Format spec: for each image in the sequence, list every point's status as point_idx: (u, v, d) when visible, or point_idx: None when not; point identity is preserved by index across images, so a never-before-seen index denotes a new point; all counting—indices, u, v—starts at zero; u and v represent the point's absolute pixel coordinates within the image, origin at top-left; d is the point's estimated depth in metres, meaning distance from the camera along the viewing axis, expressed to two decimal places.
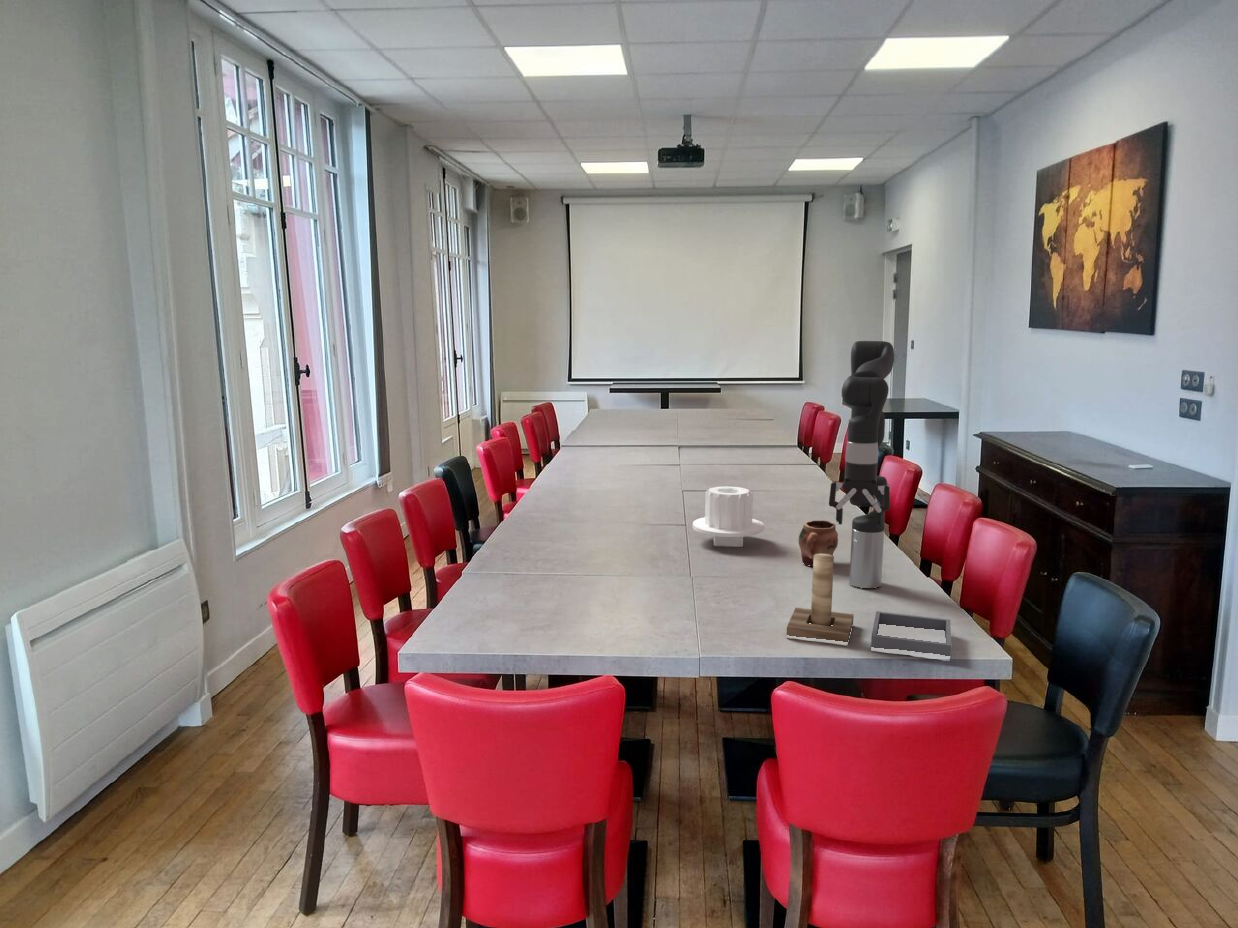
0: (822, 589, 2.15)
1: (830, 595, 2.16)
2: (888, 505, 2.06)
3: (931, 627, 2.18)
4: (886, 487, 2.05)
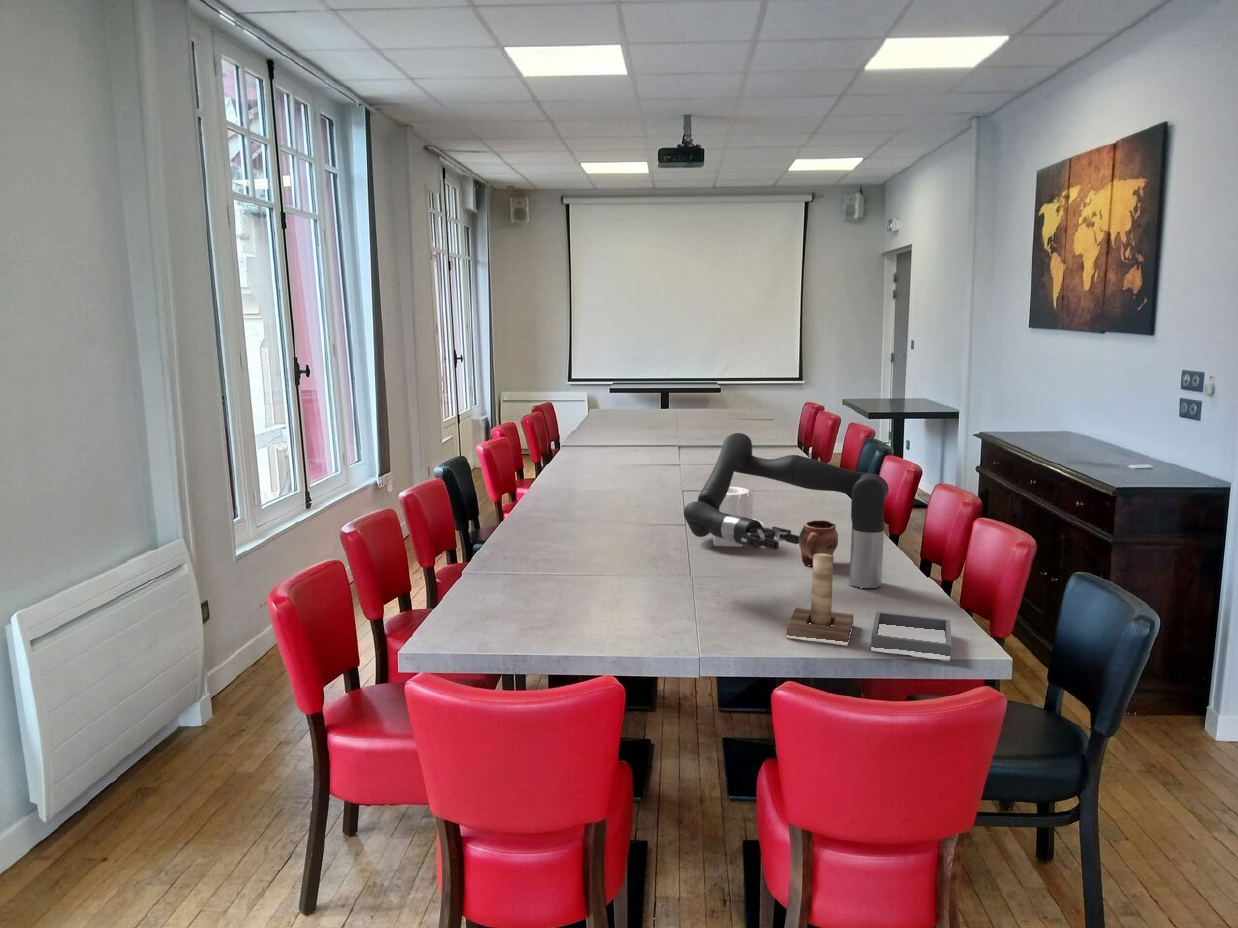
0: (822, 589, 2.15)
1: (830, 595, 2.16)
2: None
3: (931, 627, 2.18)
4: (773, 527, 2.36)
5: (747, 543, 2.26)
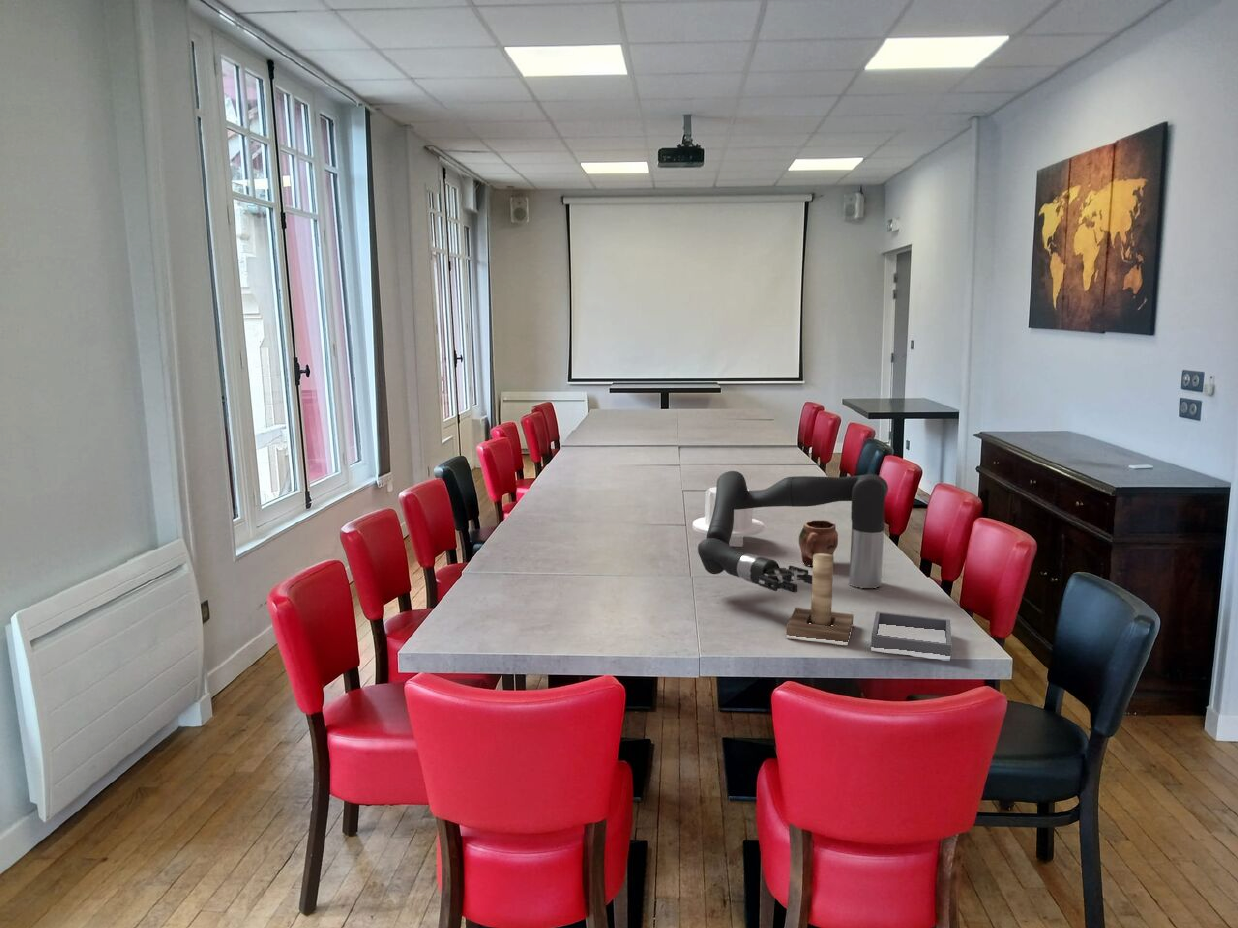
0: (822, 589, 2.15)
1: (830, 595, 2.16)
2: (804, 569, 2.30)
3: (931, 627, 2.18)
4: (790, 566, 2.33)
5: (765, 585, 2.23)
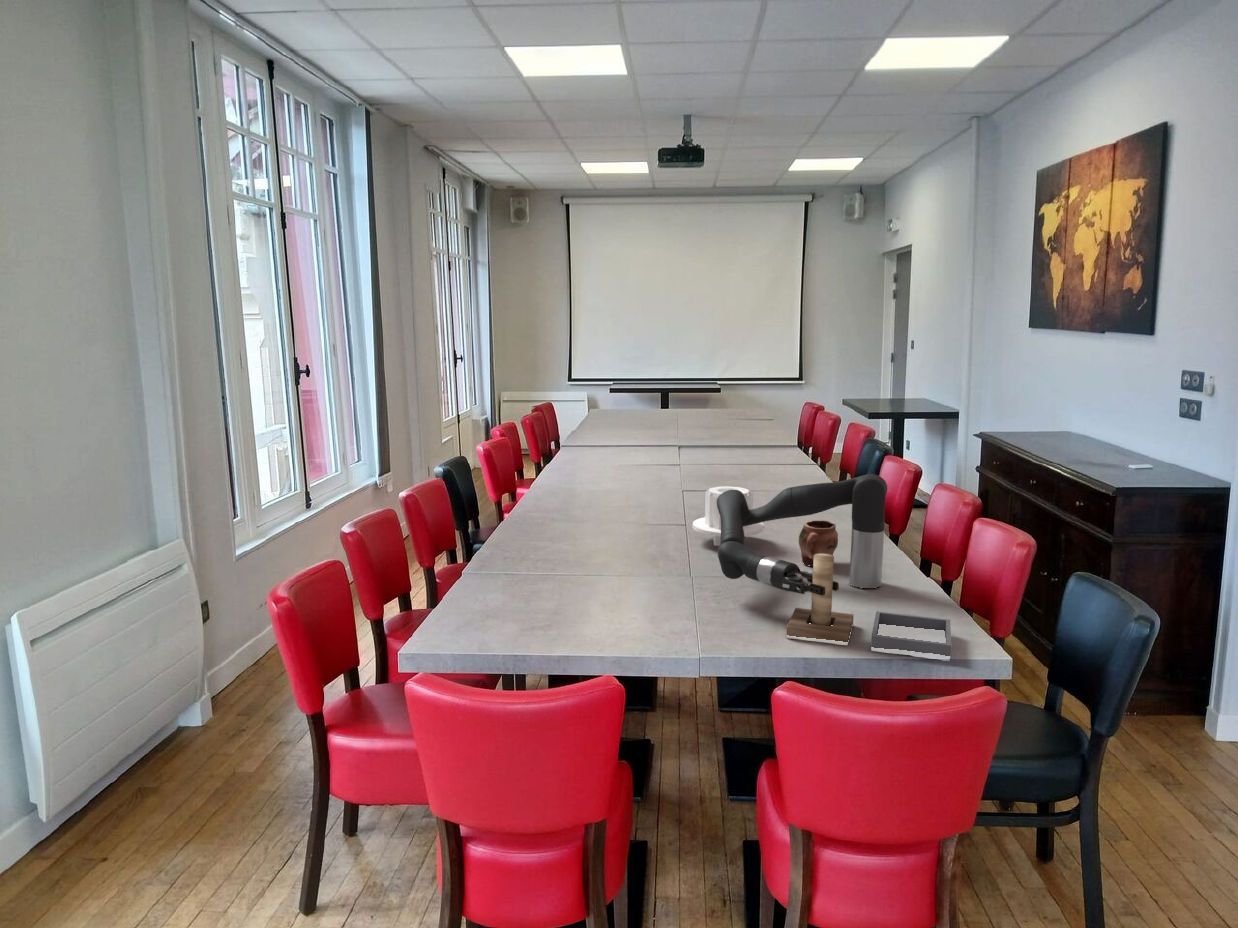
0: None
1: (830, 595, 2.16)
2: None
3: (931, 627, 2.18)
4: None
5: (790, 589, 2.17)
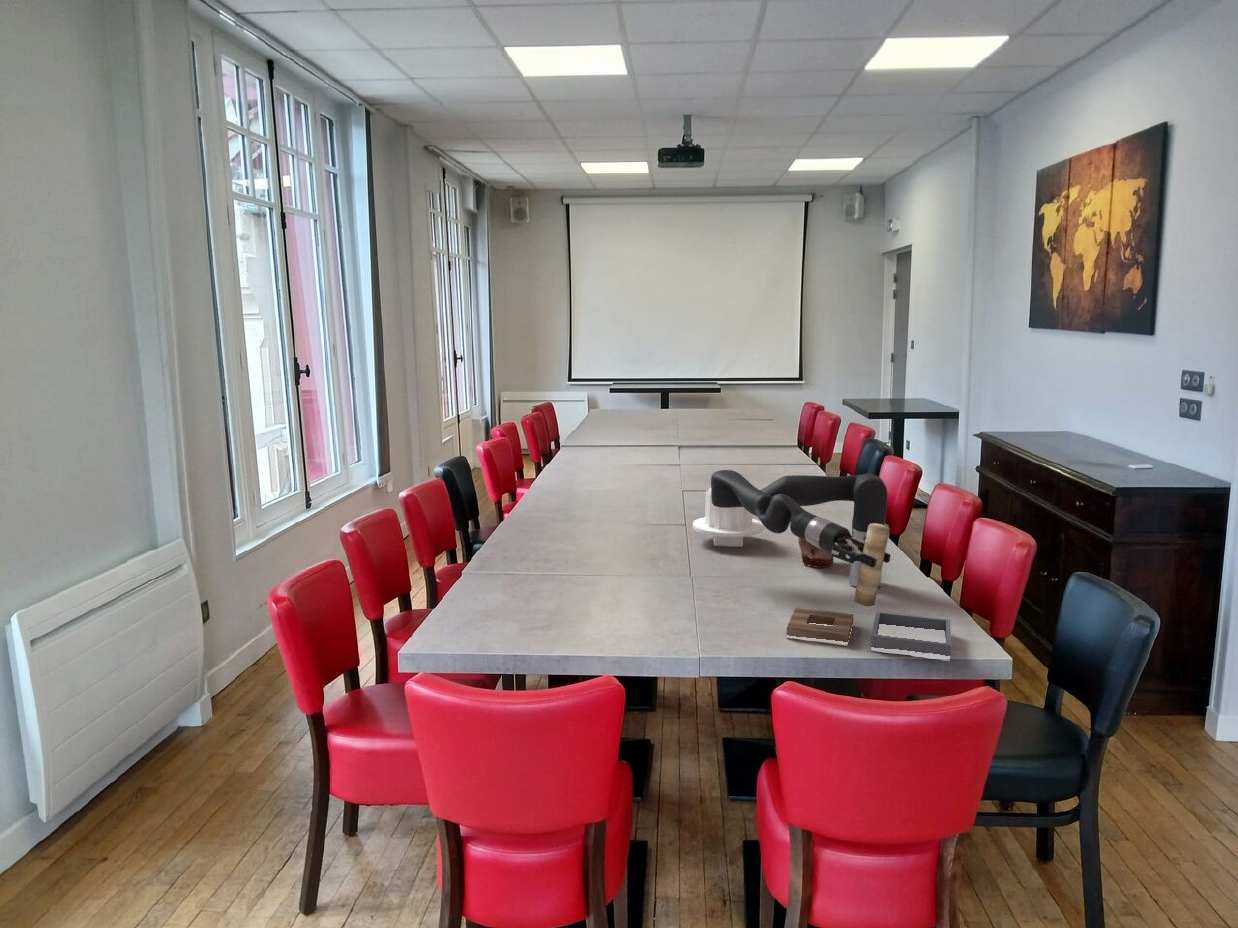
0: None
1: (880, 567, 2.08)
2: None
3: (931, 627, 2.18)
4: (865, 536, 2.18)
5: (840, 556, 2.10)
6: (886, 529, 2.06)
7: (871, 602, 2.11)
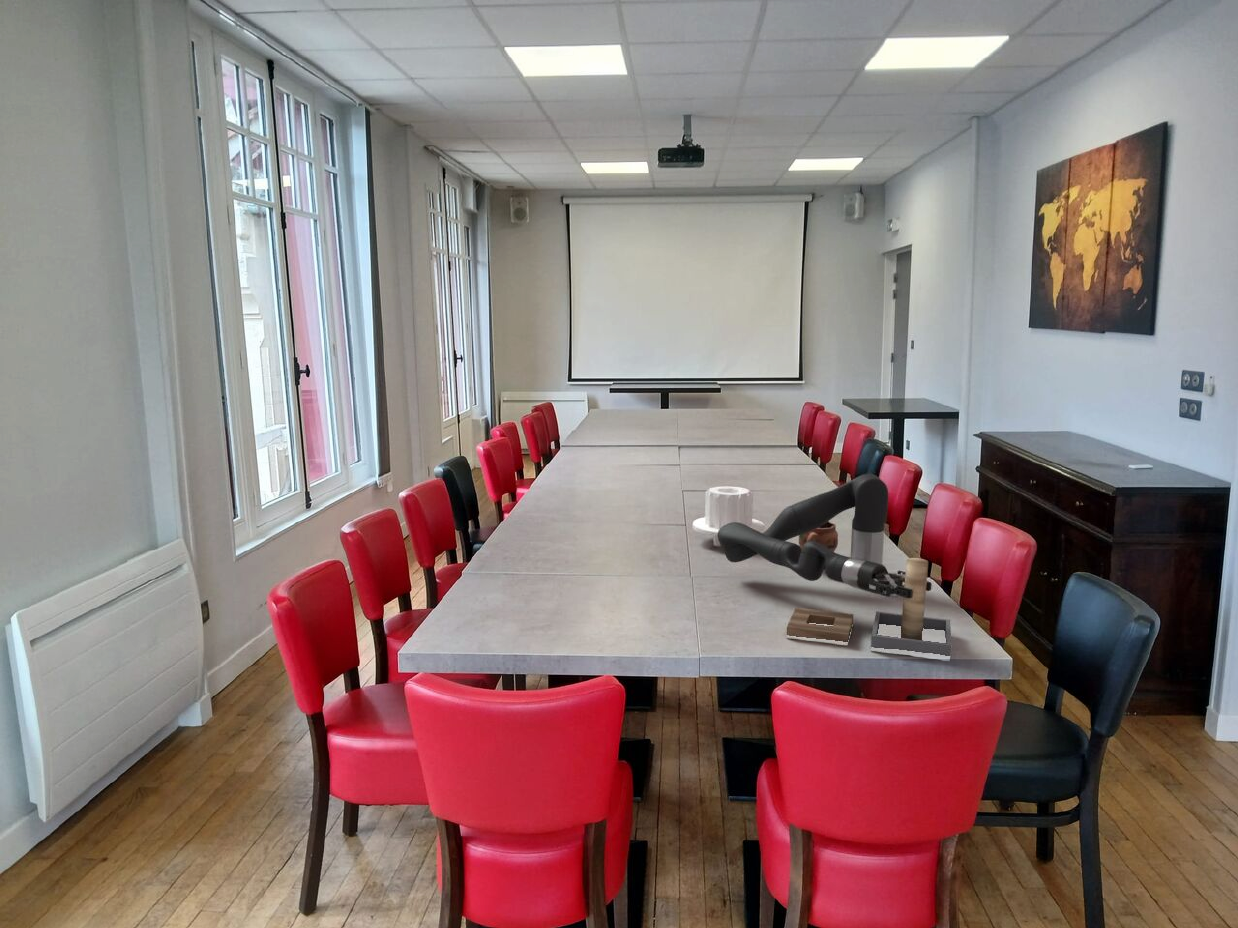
0: (916, 595, 2.08)
1: (923, 601, 2.09)
2: None
3: (931, 627, 2.18)
4: (898, 571, 2.20)
5: (876, 591, 2.10)
6: (925, 562, 2.08)
7: (918, 638, 2.10)
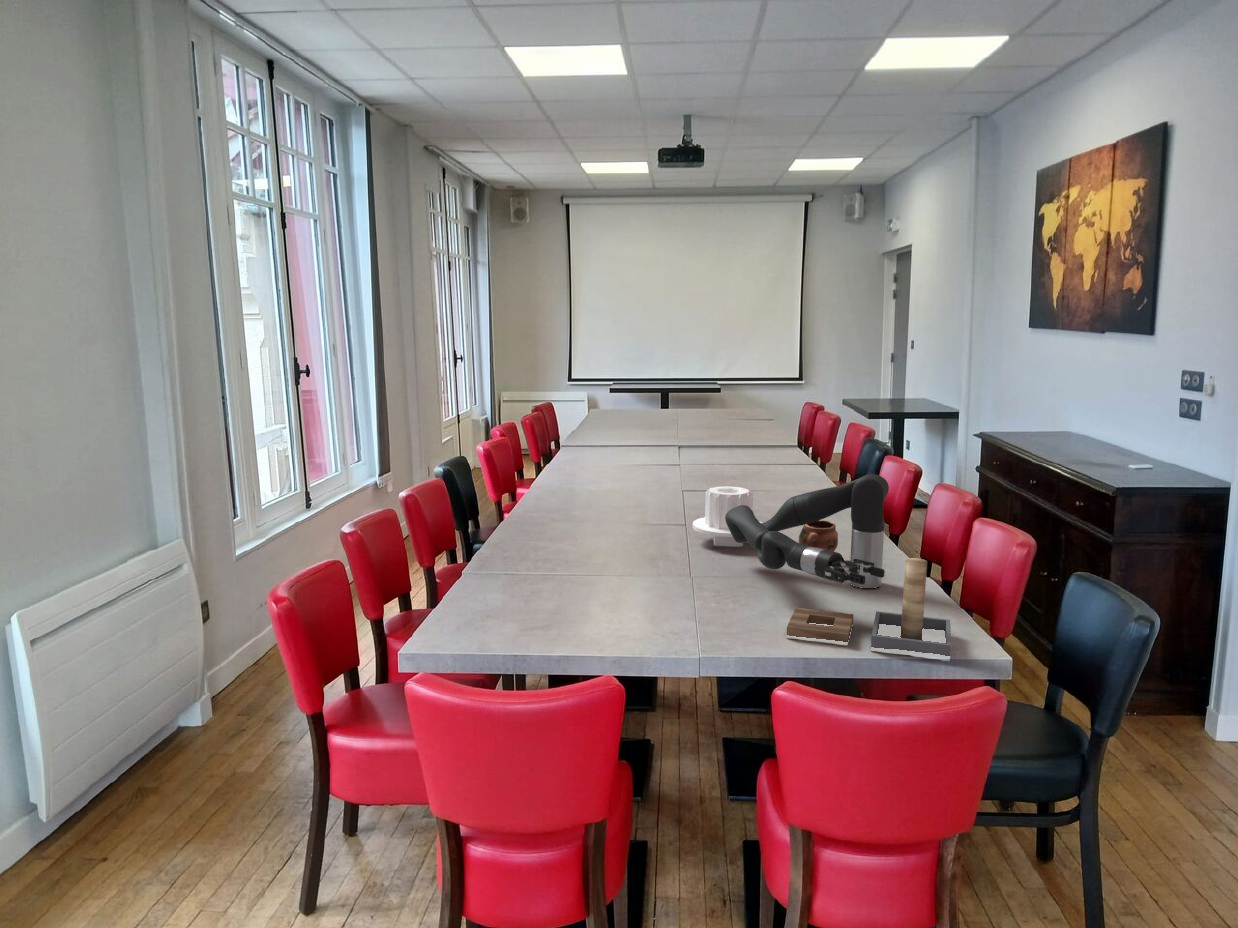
0: (915, 595, 2.08)
1: (923, 601, 2.09)
2: (870, 562, 2.27)
3: (931, 627, 2.18)
4: (854, 559, 2.29)
5: (831, 577, 2.20)
6: (924, 561, 2.08)
7: (918, 638, 2.10)
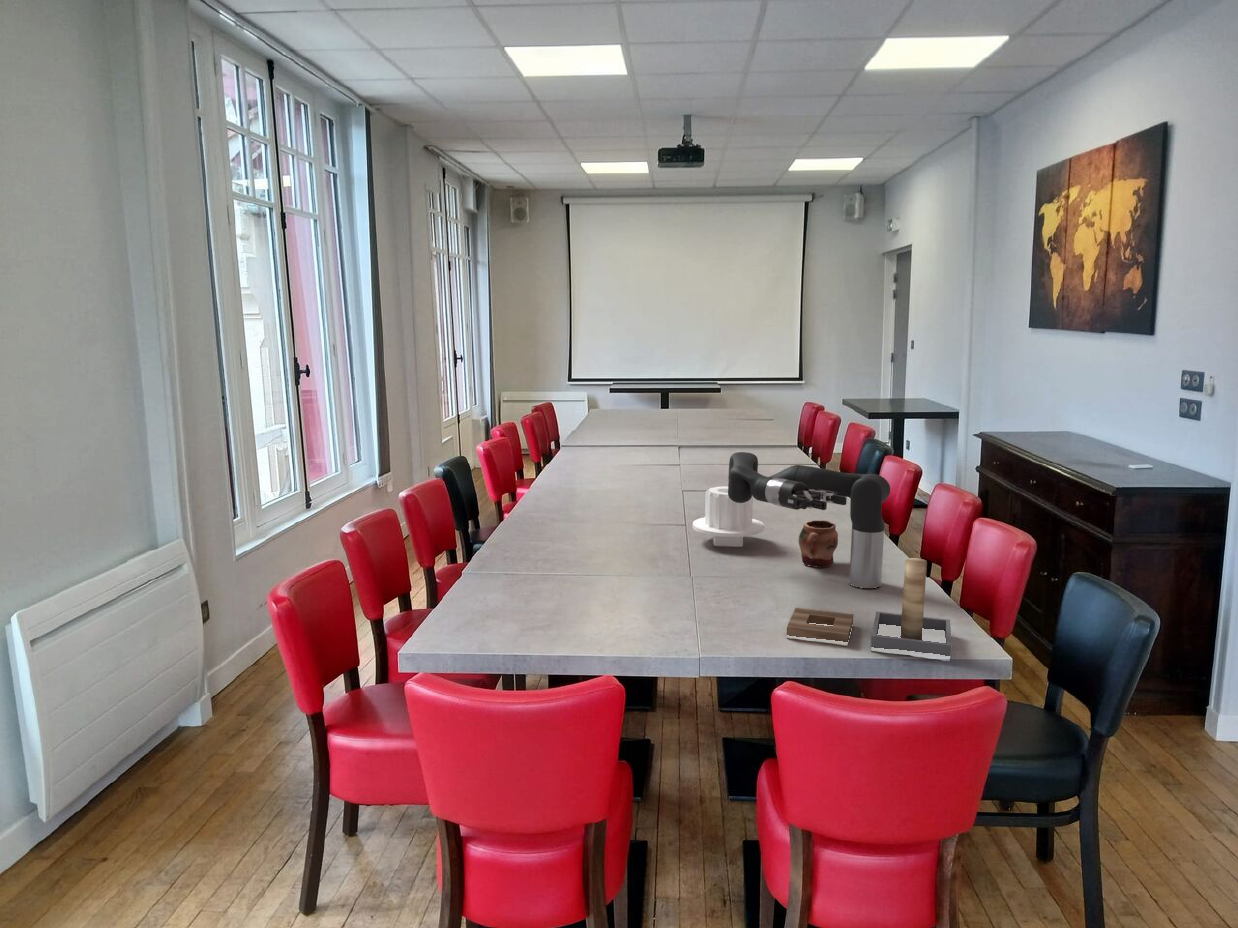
0: (915, 595, 2.08)
1: (923, 601, 2.09)
2: (833, 491, 2.29)
3: (931, 627, 2.18)
4: (818, 489, 2.32)
5: (794, 504, 2.23)
6: (923, 561, 2.08)
7: (918, 638, 2.10)
